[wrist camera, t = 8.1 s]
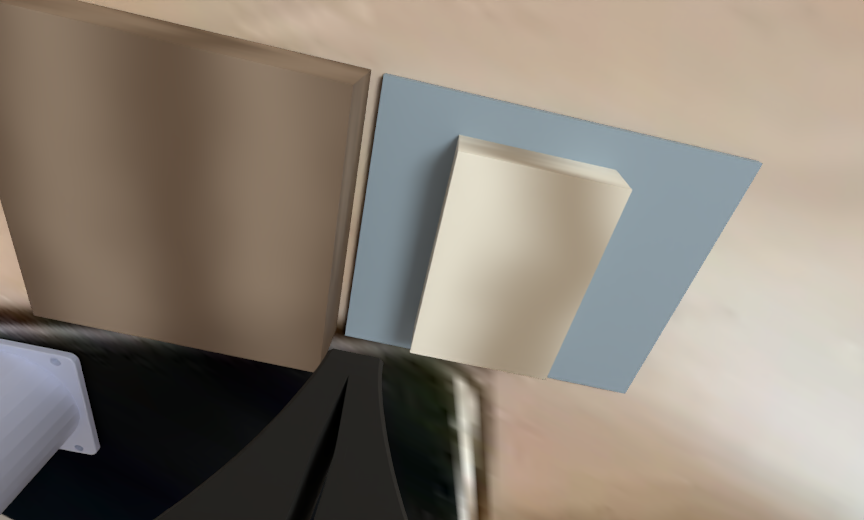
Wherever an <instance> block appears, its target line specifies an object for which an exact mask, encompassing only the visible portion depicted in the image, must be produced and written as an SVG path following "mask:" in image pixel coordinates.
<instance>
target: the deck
mask: <svg viewBox="0 0 864 520" xmlns="http://www.w3.org/2000/svg"><path fill="white" fill-rule="evenodd" d="M370 75H371V70H370V69H366V68H361V67H357V66H353V65H349V64H344V63H340V62H336V61H332V60H327V59H323V58H319V57H315V56H311V55H306V54H302V53H298V52H294V51H289V50H285V49H281V48H277V47H272V46H268V45H264V44H260V43H255V42H251V41H247V40H243V39H239V38H234V37H230V36H226V35H222V34H217V33H213V32H209V31H205V30H200V29H196V28H192V27H188V26H183V25H179V24H175V23H171V22H166V21H162V20H158V19H154V18H150V17H145V16H141V15H137V14H133V13H128V12H124V11H120V10H116V9H111V8H107V7H103V6H99V5H94V4H90V3H86V2H82V1H77V0H0V200H1V203H2V207H3V210H4V214H5V217H6V221H7V224H8V228H9V231H10V235H11V238H12V241H13V245H14V248H15V252H16V255H17V259H18V262H19V266H20V269H21V273H22V276H23V280H24V283H25V287H26V290H27V294H28V297H29V301H30V304H31V308H32V311H33V315H35V316H40V317H45V318H50V319H55V320H59V321H64V322H69V323H74V324H79V325H84V326H89V327H94V328H99V329H104V330H109V331H113V332H118V333H123V334H128V335H133V336H138V337H143V338H148V339H153V340H158V341H163V342H167V343H172V344H177V345H182V346H187V347H192V348H197V349H202V350H207V351H212V352H217V353H222V354H226V355H231V356H236V357H241V358H246V359H251V360H256V361H261V362H266V363H271V364H276V365H280V366H285V367H290V368H295V369H300V370H305V371H310V372H314V371H315V370H316V369H317V367H318V366H319V365H320V363H321V362H322V360H323V359H324V357H325V356H326V354H327V351H328V349H329V346H330V343H331V341H332V338H333V336H334V333H335V331H336V326H337V319H338V311H339V304H340V296H341V289H342V282H343V274H344V267H345V259H346V252H347V245H348V237H349V230H350V223H351V215H352V208H353V200H354V193H355V186H356V178H357V171H358V163H359V156H360V149H361V141H362V134H363V126H364V119H365V112H366V104H367V97H368V90H369V82H370Z"/></svg>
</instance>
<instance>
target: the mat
mask: <svg viewBox="0 0 864 520" xmlns="http://www.w3.org/2000/svg"><path fill="white" fill-rule="evenodd" d="M459 135H463V136H468V137H472V138H477V139H481V140H485V141H490V142H494V143H499V144H503V145H508V146H512V147H517V148H521V149H525V150H530V151H534V152H539V153H543V154H548V155H552V156H557V157H561V158H565V159H570V160H574V161H579V162H583V163H588V164H592V165H597V166H601V167H605V168H610V169H614V170H617V172H618V173H619V174H620V175H621V176H622V178H623V179H624V180H625V181H626V183H627V184H628V185H629V186H630V188H631V189H632V192H631V194H630V196H629V198H628V201H627V203H626V205H625V207H624V209H623V212H622V214H621V216H620V218H619V220H618V223H617V225H616V227H615V229H614V231H613V234H612V236H611V238H610V240H609V242H608V244H607V247H606V249H605V251H604V253H603V255H602V258H601V260H600V262H599V264H598V266H597V269H596V271H595V273H594V275H593V277H592V280H591V282H590V284H589V286H588V288H587V291H586V293H585V295H584V297H583V299H582V301H581V304H580V306H579V308H578V310H577V312H576V315H575V317H574V319H573V321H572V323H571V326H570V328H569V330H568V332H567V334H566V337H565V339H564V341H563V343H562V345H561V347H560V350H559V352H558V354H557V356H556V358H555V361H554V363H553V365H552V367H551V369H550V372H549V374H548V376H547V377H548V378H553V379H558V380H562V381H567V382H572V383H577V384H582V385H586V386H591V387H596V388H601V389H606V390H610V391H615V392H620V393H626V391H627V389H628V388H629V386H630V384H631V383H632V381H633V379H634V378H635V376H636V374H637V373H638V371H639V369H640V368H641V366H642V364H643V363H644V361H645V359H646V358H647V356H648V354H649V353H650V351H651V349H652V348H653V346H654V344H655V343H656V341H657V339H658V338H659V336H660V334H661V333H662V331H663V329H664V328H665V326H666V324H667V323H668V321H669V319H670V318H671V316H672V314H673V313H674V311H675V309H676V308H677V306H678V304H679V303H680V301H681V299H682V298H683V296H684V294H685V293H686V291H687V289H688V288H689V286H690V284H691V283H692V281H693V279H694V278H695V276H696V274H697V273H698V271H699V269H700V268H701V266H702V264H703V263H704V261H705V259H706V258H707V256H708V254H709V252H710V251H711V249H712V247H713V246H714V244H715V242H716V241H717V239H718V237H719V236H720V234H721V232H722V231H723V229H724V227H725V226H726V224H727V222H728V221H729V219H730V217H731V216H732V214H733V212H734V211H735V209H736V207H737V206H738V204H739V202H740V201H741V199H742V197H743V196H744V194H745V192H746V191H747V189H748V187H749V186H750V184H751V182H752V181H753V179H754V177H755V176H756V174H757V172H758V171H759V169H760V167H761V166H762V163H760V162H759V161H755V160H751V159H747V158H743V157H739V156H734V155H730V154H726V153H722V152H717V151H713V150H709V149H705V148H700V147H696V146H692V145H688V144H683V143H679V142H675V141H671V140H666V139H662V138H658V137H654V136H650V135H645V134H641V133H637V132H633V131H628V130H624V129H620V128H616V127H611V126H607V125H603V124H599V123H594V122H590V121H586V120H582V119H578V118H573V117H569V116H565V115H561V114H556V113H552V112H548V111H544V110H539V109H535V108H531V107H527V106H522V105H518V104H514V103H510V102H505V101H501V100H497V99H493V98H489V97H484V96H480V95H476V94H472V93H467V92H463V91H459V90H455V89H450V88H446V87H442V86H438V85H433V84H429V83H425V82H421V81H416V80H412V79H408V78H404V77H400V76H395V75H391V74H387V73H385V74H384V76H383V83H382V89H381V96H380V103H379V109H378V116H377V123H376V130H375V136H374V143H373V150H372V156H371V163H370V170H369V177H368V183H367V190H366V197H365V203H364V210H363V217H362V224H361V230H360V237H359V244H358V250H357V257H356V264H355V270H354V277H353V284H352V291H351V297H350V304H349V311H348V317H347V324H346V331H345V335H346V336H351V337H356V338H361V339H365V340H370V341H375V342H380V343H385V344H389V345H394V346H399V347H404V348H409V349H411V343H412V337H413V330H414V324H415V320H416V315H417V311H418V307H419V303H420V299H421V294H422V290H423V286H424V282H425V277H426V273H427V269H428V265H429V260H430V256H431V252H432V248H433V244H434V239H435V235H436V231H437V227H438V222H439V218H440V214H441V210H442V205H443V201H444V197H445V193H446V189H447V184H448V180H449V176H450V172H451V167H452V163H453V159H454V155H455V150H456V146H457V142H458V138H459Z"/></svg>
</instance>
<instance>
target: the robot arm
mask: <svg viewBox="0 0 864 520" xmlns="http://www.w3.org/2000/svg"><path fill="white" fill-rule="evenodd" d="M382 368H383V362H382V360H381V359H380V358H376V357H371V356H366V355H361V354H356V353H351V352H346V351H341V350H336V349H332V350H330V351H328V352H327V354H326V356H325V357H324V359H323V360H322V362H321V363H320V365H319V366H318V367H317V369H316V370H315V371H314V373H313V374H312V375H311V377H310V378H309V379H308V380H307V382H306V383H305V384H304V385H303V387H302V388H301V389H300V390H299V391H298V392H297V394H296V395H295V396H294V397H293V398H292V399H291V400H290V402H289V403H288V404H287V405H286V406H285V407H284V408H283V409H282V411H281V412H280V413H279V414H278V415H277V416H276V417H275V418H274V419H273V420H272V421H271V422H270V423H269V424H268V425H267V426H266V427H265V428H264V429H263V430H262V431H261V432H260V433H259V434H258V435H257V436H256V437H255V438H254V439H253V440H252V441H251V442H250V443H249V444H248V445H247V446H246V447H244V448H243V449H242V450H241V451H240V452H239V453H238V454H237V455H236V456H234V457H233V458H232V459H231V460H230V461H229V462H228V463H226V464H225V465H224V466H223V467H222V468H221V469H219V470H218V471H217V472H216V473H214V474H213V475H212V476H211V477H210V478H208V479H207V480H206V481H205V482H203V483H202V484H201V485H200V486H198V487H197V488H196V489H195V490H193V491H192V492H191V493H190V494H188V495H187V496H186V497H184V498H183V499H182V500H180V501H179V502H178V503H176V504H175V505H173V506H172V507H171V508H169V509H168V510H166V511H165V512H164V513H162V514H161V515H159V516H158V517H156V518H155V519H154V520H310V518H311V516H312V513H313V510H314V508H315V505H316V502H317V499H318V497H319V494H320V491H321V489H322V486H323V483H324V481H325V478H326V475H327V473H328V470H329V467H330V464H331V467H330V470H329V473H328V476H327V480H326V483H325V486H324V489H323V493H322V496H321V499H320V502H319V505H318V508H317V512H316V515H315V518H314V520H408V518H407V515H406V512H405V509H404V506H403V502H402V499H401V495H400V492H399V488H398V485H397V481H396V477H395V473H394V468H393V464H392V459H391V454H390V450H389V444H388V439H387V433H386V426H385V419H384V411H383V400H382ZM58 449H63V450H68V451H74V452H79V453H84V454H90V455H92V454H95V453H96V452H97V451H98V450H99V449H100V444H99V440H98V436H97V431H96V427H95V423H94V419H93V415H92V410H91V406H90V402H89V398H88V394H87V389H86V385H85V381H84V377H83V373H82V368H81V364H80V360H79V358H78V357H77V356H76V355H74V354H73V353H70V352H65V351H60V350H55V349H50V348H45V347H40V346H35V345H30V344H25V343H20V342H15V341H10V340H5V339H0V514H1V513H2V512H3V511H4V510H5V509H6V508H7V507H8V505H9V504H10V503H11V502H12V501H13V500H14V499H15V498H16V496H17V495H18V494H19V493H20V492H21V491H22V490H23V489H24V487H25V486H26V485H27V484H28V483H29V482H30V481H31V480H32V478H33V477H34V476H35V475H36V474H37V473H38V472H39V471H40V469H41V468H42V467H43V466H44V465H45V464H46V463H47V462H48V460H49V459H50V458H51V457H52V456H53V455H54V454H55V453H56V451H57V450H58ZM332 459H333V460H332ZM331 462H332V463H331Z"/></svg>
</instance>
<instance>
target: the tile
mask: <svg viewBox="0 0 864 520" xmlns="http://www.w3.org/2000/svg"><path fill="white" fill-rule="evenodd" d="M631 192H632V189H631V188H630V186H629V185H628V184H627V183H626V181H625V180H624V179H623V178H622V176H621V175H620V174H619V173H618V172H617V170H614V169H610V168H605V167H601V166H597V165H592V164H588V163H583V162H579V161H574V160H570V159H565V158H561V157H557V156H552V155H548V154H543V153H539V152H534V151H530V150H525V149H521V148H517V147H512V146H508V145H503V144H499V143H494V142H490V141H485V140H481V139H477V138H472V137H468V136H463V135H459V138H458V142H457V146H456V150H455V155H454V159H453V163H452V167H451V172H450V176H449V180H448V184H447V189H446V193H445V197H444V201H443V205H442V210H441V214H440V218H439V222H438V227H437V231H436V235H435V239H434V244H433V248H432V252H431V256H430V260H429V265H428V269H427V273H426V277H425V282H424V286H423V290H422V294H421V299H420V303H419V307H418V311H417V315H416V320H415V324H414V330H413V337H412V343H411V349H410V353H414V354H419V355H424V356H429V357H434V358H439V359H444V360H449V361H454V362H459V363H464V364H468V365H473V366H478V367H483V368H488V369H493V370H498V371H503V372H508V373H513V374H518V375H523V376H528V377H533V378H537V379H542V380H546V378H547V376H548V374H549V372H550V369H551V367H552V365H553V363H554V361H555V358H556V356H557V354H558V352H559V350H560V347H561V345H562V343H563V341H564V339H565V337H566V334H567V332H568V330H569V328H570V326H571V323H572V321H573V319H574V317H575V315H576V312H577V310H578V308H579V306H580V304H581V301H582V299H583V297H584V295H585V293H586V291H587V288H588V286H589V284H590V282H591V280H592V277H593V275H594V273H595V271H596V269H597V266H598V264H599V262H600V260H601V258H602V255H603V253H604V251H605V249H606V247H607V244H608V242H609V240H610V238H611V236H612V234H613V231H614V229H615V227H616V225H617V223H618V220H619V218H620V216H621V214H622V212H623V209H624V207H625V205H626V203H627V201H628V198H629V196H630V194H631Z"/></svg>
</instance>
